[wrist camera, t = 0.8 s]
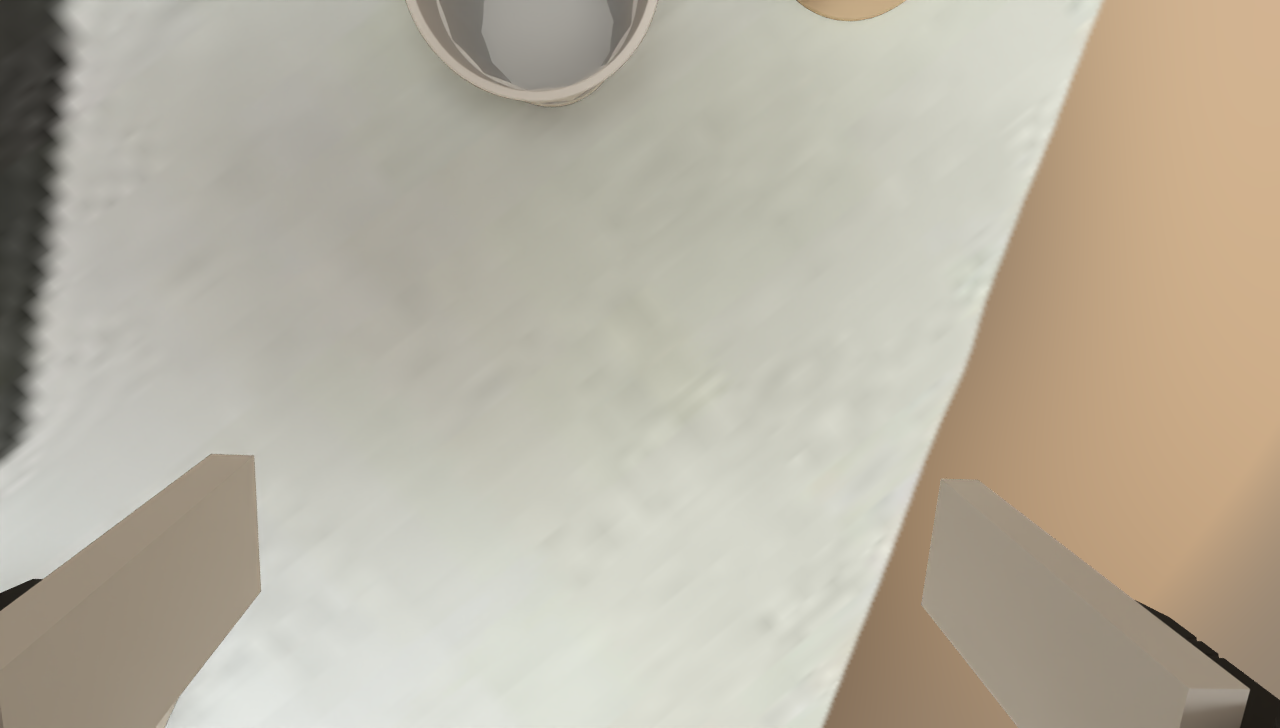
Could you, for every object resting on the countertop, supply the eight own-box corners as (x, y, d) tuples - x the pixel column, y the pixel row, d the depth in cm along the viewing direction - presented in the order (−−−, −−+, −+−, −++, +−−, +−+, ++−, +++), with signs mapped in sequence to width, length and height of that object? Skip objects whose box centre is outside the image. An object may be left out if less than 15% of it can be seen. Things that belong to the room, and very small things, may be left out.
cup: (589, -97, 35) (591, -237, 23) (667, 78, 37) (704, 31, 25) (426, -14, 35) (346, -110, 23) (511, 155, 37) (476, 144, 25)
